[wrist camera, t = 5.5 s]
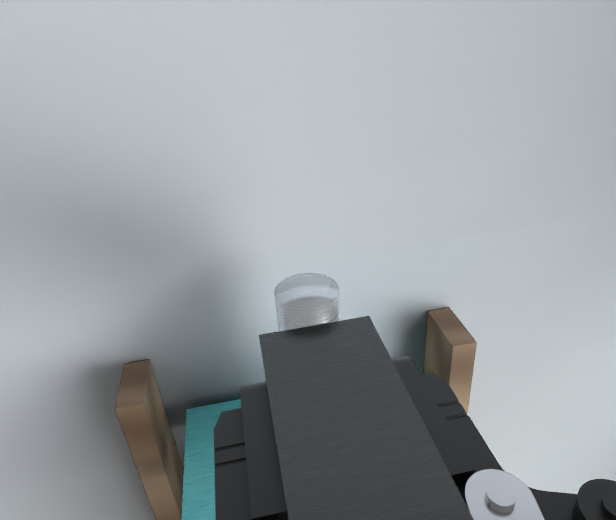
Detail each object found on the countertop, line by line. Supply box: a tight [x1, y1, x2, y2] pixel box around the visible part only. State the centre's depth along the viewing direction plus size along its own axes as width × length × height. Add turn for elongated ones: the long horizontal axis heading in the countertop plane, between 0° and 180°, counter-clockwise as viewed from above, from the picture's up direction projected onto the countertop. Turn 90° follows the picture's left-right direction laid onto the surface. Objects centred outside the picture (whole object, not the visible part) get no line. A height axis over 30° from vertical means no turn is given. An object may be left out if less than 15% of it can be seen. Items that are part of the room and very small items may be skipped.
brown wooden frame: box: [115, 307, 477, 520], centre depth 23 cm, size 15×14×2 cm
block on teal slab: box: [182, 273, 474, 520], centre depth 15 cm, size 10×10×12 cm
